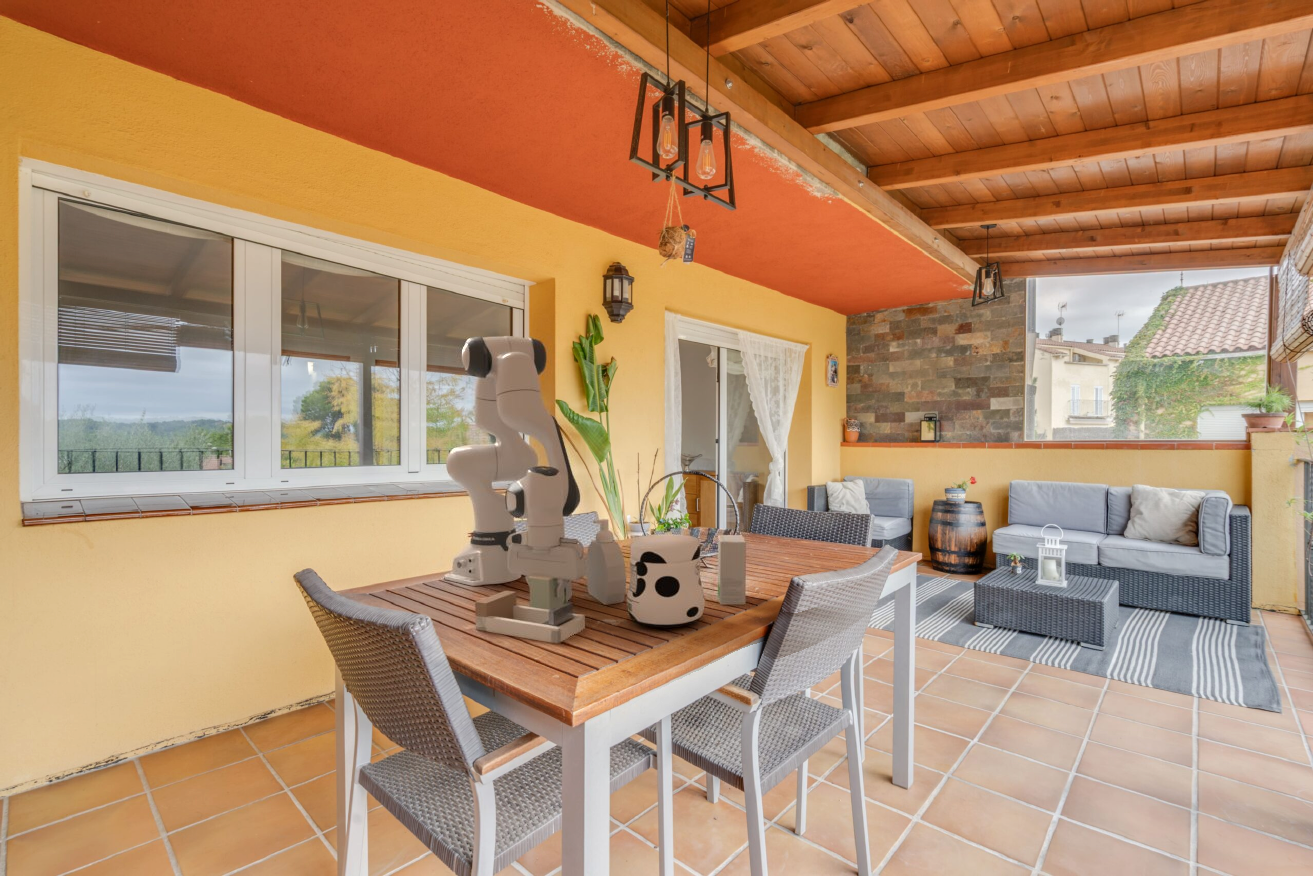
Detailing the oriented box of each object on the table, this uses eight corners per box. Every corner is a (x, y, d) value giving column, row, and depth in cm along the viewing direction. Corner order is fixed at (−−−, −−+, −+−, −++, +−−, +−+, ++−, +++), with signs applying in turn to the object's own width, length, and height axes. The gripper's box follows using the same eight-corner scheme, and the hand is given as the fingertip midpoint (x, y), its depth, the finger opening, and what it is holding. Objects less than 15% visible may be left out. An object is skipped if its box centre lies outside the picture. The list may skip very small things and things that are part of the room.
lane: (475, 629, 132) (475, 601, 132) (506, 616, 141) (505, 590, 141) (557, 643, 123) (556, 613, 122) (584, 628, 131) (584, 601, 131)
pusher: (537, 635, 127) (536, 609, 127) (556, 625, 133) (556, 600, 133) (553, 638, 125) (553, 611, 125) (572, 628, 131) (572, 602, 131)
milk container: (718, 616, 139) (717, 537, 138) (679, 639, 124) (677, 550, 124) (655, 605, 148) (653, 531, 148) (611, 625, 134) (609, 543, 133)
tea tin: (529, 614, 142) (528, 575, 142) (544, 608, 147) (543, 570, 147) (549, 617, 140) (548, 578, 139) (564, 611, 145) (563, 572, 144)
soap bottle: (584, 592, 161) (583, 516, 161) (603, 589, 163) (602, 515, 163) (606, 608, 147) (605, 525, 146) (627, 605, 149) (625, 523, 149)
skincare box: (717, 595, 156) (716, 534, 155) (743, 595, 155) (743, 534, 155) (719, 605, 147) (718, 540, 147) (747, 605, 147) (746, 540, 147)
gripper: (590, 537, 141) (591, 596, 141) (520, 531, 150) (521, 587, 151) (575, 541, 136) (576, 604, 136) (502, 535, 145) (504, 594, 145)
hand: (546, 595), depth 143 cm, fingers closed on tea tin, 5 cm apart
